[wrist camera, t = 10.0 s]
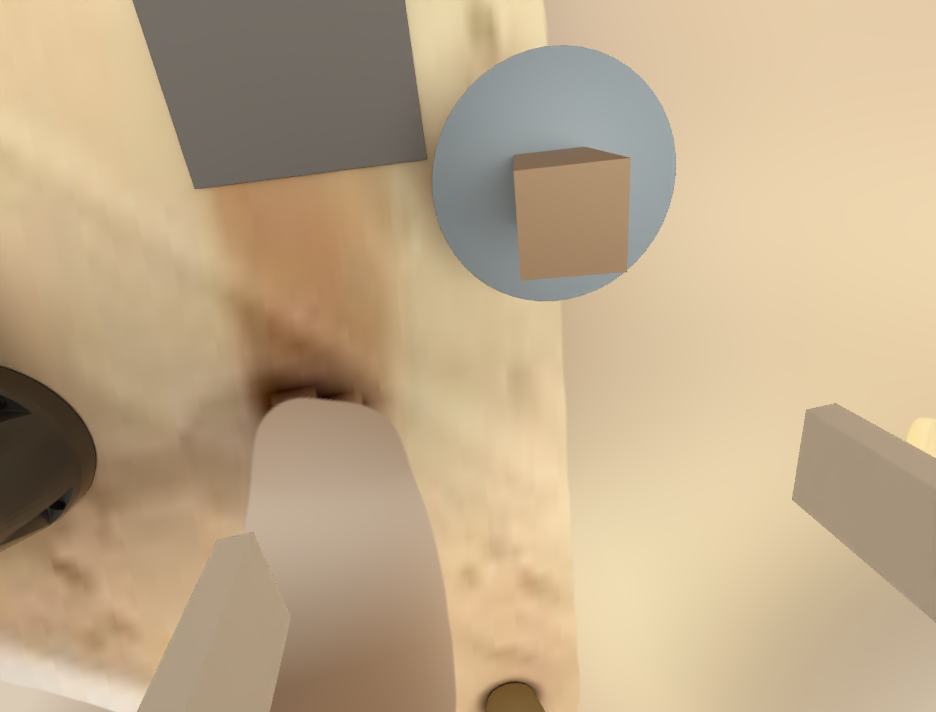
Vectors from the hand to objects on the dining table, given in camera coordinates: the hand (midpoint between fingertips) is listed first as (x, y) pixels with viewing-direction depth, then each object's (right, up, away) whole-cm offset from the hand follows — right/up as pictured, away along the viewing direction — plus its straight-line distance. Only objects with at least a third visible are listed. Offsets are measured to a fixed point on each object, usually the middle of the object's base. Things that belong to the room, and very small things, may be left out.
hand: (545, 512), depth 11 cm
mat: (-14, +24, +19) cm, 33 cm away
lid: (+2, +13, +13) cm, 19 cm away
